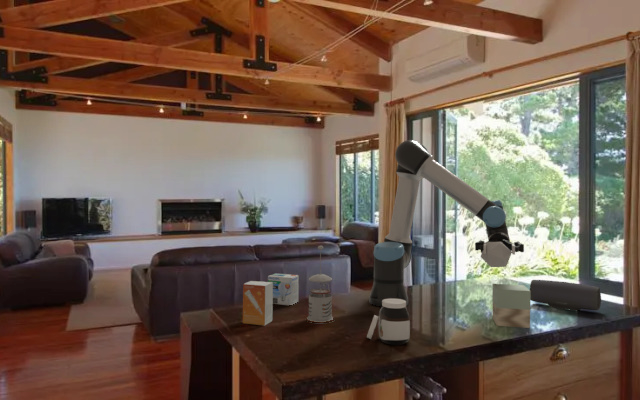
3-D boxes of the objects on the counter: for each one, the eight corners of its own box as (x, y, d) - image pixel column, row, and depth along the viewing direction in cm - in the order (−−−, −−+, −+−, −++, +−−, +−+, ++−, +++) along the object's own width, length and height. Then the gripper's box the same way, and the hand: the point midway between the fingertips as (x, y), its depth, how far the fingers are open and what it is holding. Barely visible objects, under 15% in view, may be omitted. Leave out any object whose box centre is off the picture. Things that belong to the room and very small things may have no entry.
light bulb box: (266, 303, 178) (267, 275, 178) (274, 299, 184) (275, 273, 184) (291, 306, 174) (291, 277, 174) (299, 302, 180) (299, 274, 180)
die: (509, 271, 146) (519, 244, 149) (483, 257, 147) (494, 231, 150) (497, 276, 154) (507, 251, 157) (473, 263, 155) (483, 238, 158)
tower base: (496, 326, 149) (496, 307, 149) (492, 318, 159) (492, 301, 159) (529, 328, 147) (530, 309, 147) (523, 320, 156) (523, 302, 156)
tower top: (497, 307, 149) (497, 289, 149) (492, 301, 159) (492, 283, 159) (530, 309, 147) (530, 290, 147) (523, 302, 156) (523, 285, 156)
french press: (301, 321, 152) (301, 246, 152) (313, 313, 163) (314, 243, 163) (329, 324, 149) (329, 247, 149) (340, 315, 160) (340, 244, 159)
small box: (242, 323, 149) (242, 283, 149) (250, 318, 155) (251, 280, 155) (265, 326, 146) (265, 285, 146) (273, 321, 153) (273, 281, 152)
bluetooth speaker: (601, 311, 169) (601, 284, 169) (596, 316, 162) (596, 287, 162) (535, 301, 184) (536, 276, 184) (528, 305, 177) (528, 279, 177)
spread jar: (413, 346, 128) (413, 304, 128) (374, 348, 126) (375, 306, 125) (397, 333, 140) (397, 295, 140) (361, 335, 137) (362, 296, 137)
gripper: (530, 254, 165) (534, 263, 144) (469, 252, 172) (465, 259, 151) (530, 233, 165) (534, 239, 144) (469, 232, 172) (465, 237, 151)
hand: (499, 249), depth 147 cm, fingers closed on die, 8 cm apart
